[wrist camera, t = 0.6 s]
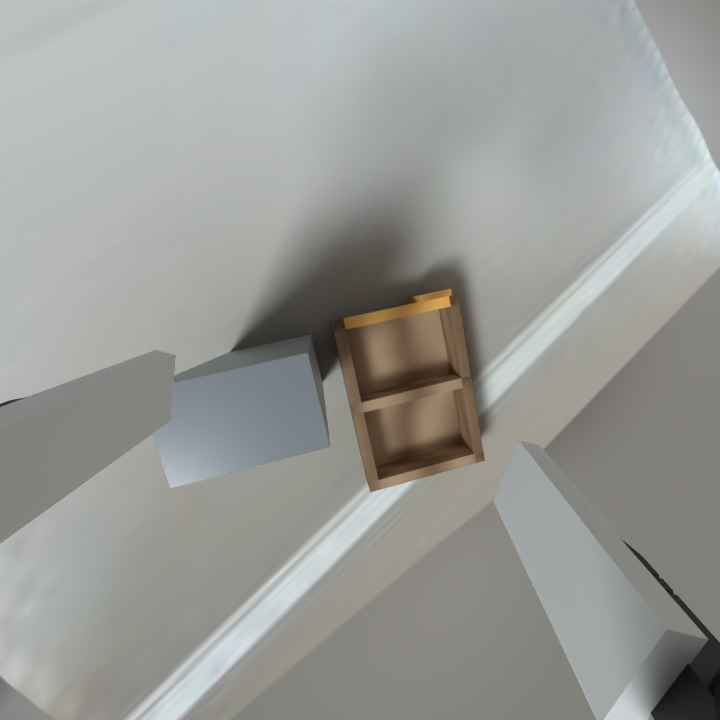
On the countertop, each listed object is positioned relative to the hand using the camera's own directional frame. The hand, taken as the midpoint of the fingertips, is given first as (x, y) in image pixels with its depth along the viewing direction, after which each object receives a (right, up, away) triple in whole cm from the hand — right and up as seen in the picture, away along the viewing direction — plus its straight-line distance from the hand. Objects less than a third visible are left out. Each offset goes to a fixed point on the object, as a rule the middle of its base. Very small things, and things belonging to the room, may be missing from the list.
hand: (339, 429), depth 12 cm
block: (-7, +2, +20) cm, 22 cm away
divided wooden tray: (+5, 0, +22) cm, 23 cm away
